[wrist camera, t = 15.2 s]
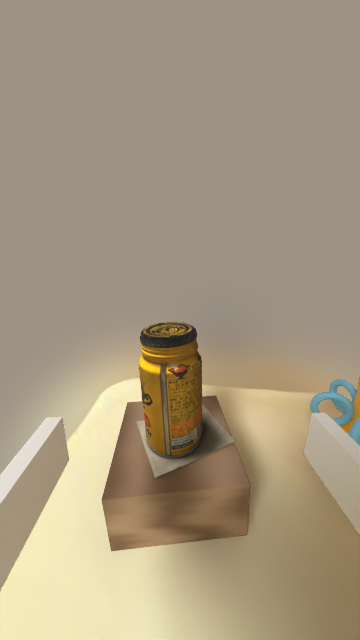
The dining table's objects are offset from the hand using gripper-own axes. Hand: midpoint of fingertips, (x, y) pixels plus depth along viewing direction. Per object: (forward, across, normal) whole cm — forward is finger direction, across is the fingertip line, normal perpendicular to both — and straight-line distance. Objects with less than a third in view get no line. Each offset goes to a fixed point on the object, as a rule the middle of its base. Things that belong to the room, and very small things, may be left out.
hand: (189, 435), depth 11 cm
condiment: (+10, 0, -9) cm, 13 cm away
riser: (+10, 0, -15) cm, 18 cm away
